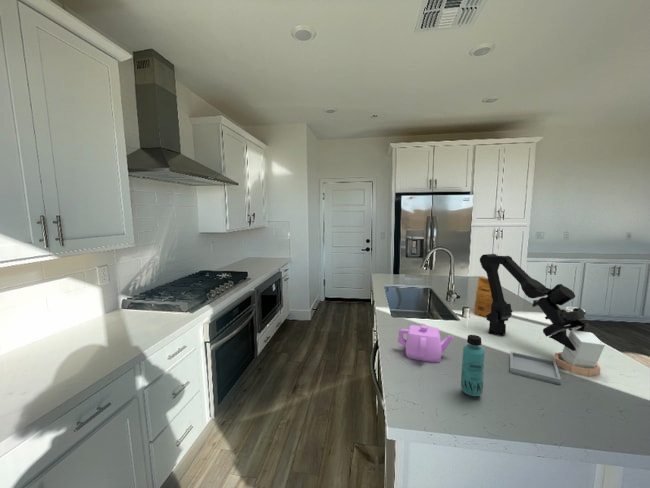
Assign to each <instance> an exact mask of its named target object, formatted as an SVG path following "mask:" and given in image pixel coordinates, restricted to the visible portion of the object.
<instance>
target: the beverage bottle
mask: <svg viewBox="0 0 650 488" xmlns="http://www.w3.org/2000/svg"><path fill="white" fill-rule="evenodd" d="M466 342H467V344H465V345H464V346H463V347H462V363H461V370H460V371H461V374H460V388H461V391H463V393H465V394H467V395H469V396H473V397H478V396H479V397H480V396H481V395H482V394H483V390H484V389H483V387H484V375H485V374H484V368H485V365H484V363H485V353H486V352H485V350H484V348H483V347H481V345H482V337H480V336H479V335H476V334H468V336H467V340H466Z"/></svg>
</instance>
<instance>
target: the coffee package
mask: <svg viewBox="0 0 650 488" xmlns="http://www.w3.org/2000/svg"><path fill="white" fill-rule="evenodd" d="M475 292H476V295H475V302H474V312H473V313H474V315H475V316H482V317H483V318H486V315H488V314H489V313H491V305H492V302H493V300H492V295H491V291H490V286H489V282H488V278H485V277H483V276H479V277H478V280H477V288H476V291H475Z"/></svg>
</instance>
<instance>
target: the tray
mask: <svg viewBox="0 0 650 488" xmlns="http://www.w3.org/2000/svg"><path fill="white" fill-rule="evenodd" d="M509 352H510V353H509V354H510V355H509V363H510V365H509V368H510V369H509V370H510V371H509V373H510V374H514V375H517V376H522V377H526V378H530V379H535V380H538V381H542V382H547V383H551V384H554V385H558V386H559V385H560V386H561V385H562V378H561V375H560V371H559V368H558V366H557V364H556V361H555V360H553V359H548V358H544V357H538V356H534V355H530V354H524V353H520V352H516V351H515V352H514V351H509Z"/></svg>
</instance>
